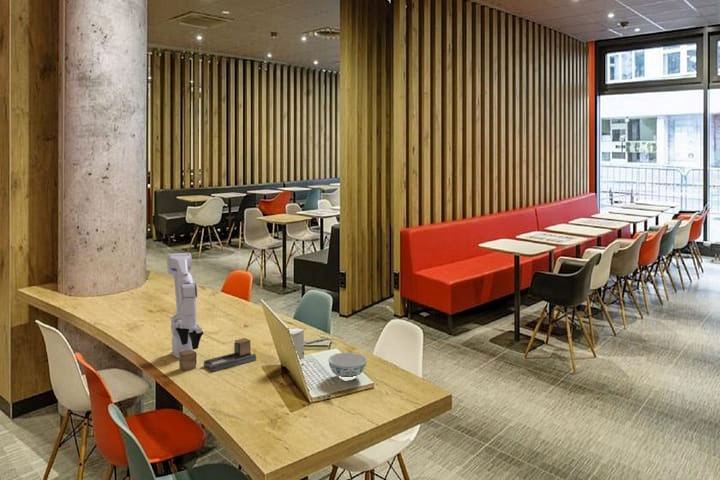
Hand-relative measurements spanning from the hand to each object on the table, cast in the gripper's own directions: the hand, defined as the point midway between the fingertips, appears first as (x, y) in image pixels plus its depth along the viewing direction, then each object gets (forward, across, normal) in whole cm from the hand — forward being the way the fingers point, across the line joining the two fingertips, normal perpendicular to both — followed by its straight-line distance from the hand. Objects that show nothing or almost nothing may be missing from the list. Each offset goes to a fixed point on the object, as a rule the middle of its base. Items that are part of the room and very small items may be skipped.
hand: (189, 346), depth 234 cm
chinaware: (+9, +53, +36) cm, 65 cm away
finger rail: (+9, +6, +15) cm, 19 cm away
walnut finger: (+9, -1, -1) cm, 9 cm away
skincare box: (+10, +27, +31) cm, 42 cm away
